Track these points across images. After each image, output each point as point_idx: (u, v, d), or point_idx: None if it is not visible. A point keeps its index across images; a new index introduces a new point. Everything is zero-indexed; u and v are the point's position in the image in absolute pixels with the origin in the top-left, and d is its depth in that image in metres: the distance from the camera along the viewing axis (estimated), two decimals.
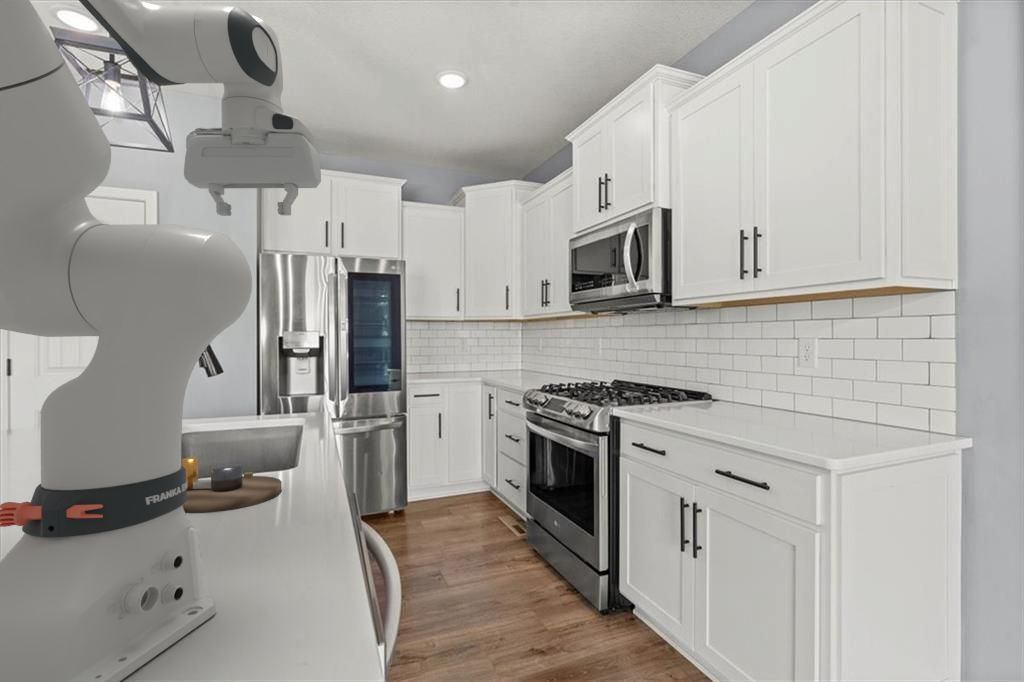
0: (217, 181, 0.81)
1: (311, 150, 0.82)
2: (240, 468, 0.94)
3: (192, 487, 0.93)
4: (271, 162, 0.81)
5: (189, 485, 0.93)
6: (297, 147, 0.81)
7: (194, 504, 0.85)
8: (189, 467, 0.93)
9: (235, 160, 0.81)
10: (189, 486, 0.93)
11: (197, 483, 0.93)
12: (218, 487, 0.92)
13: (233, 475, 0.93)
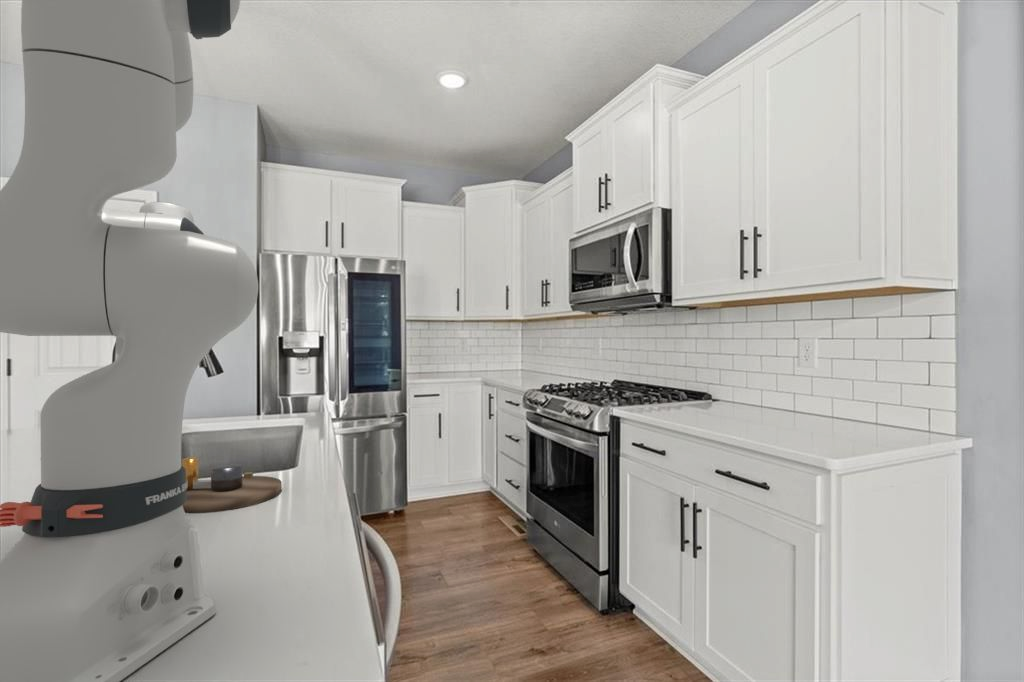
0: None
1: None
2: (240, 468, 0.94)
3: (192, 487, 0.93)
4: None
5: (189, 485, 0.93)
6: None
7: (194, 504, 0.85)
8: (189, 467, 0.93)
9: None
10: (189, 486, 0.93)
11: (197, 483, 0.93)
12: (218, 487, 0.92)
13: (233, 475, 0.93)
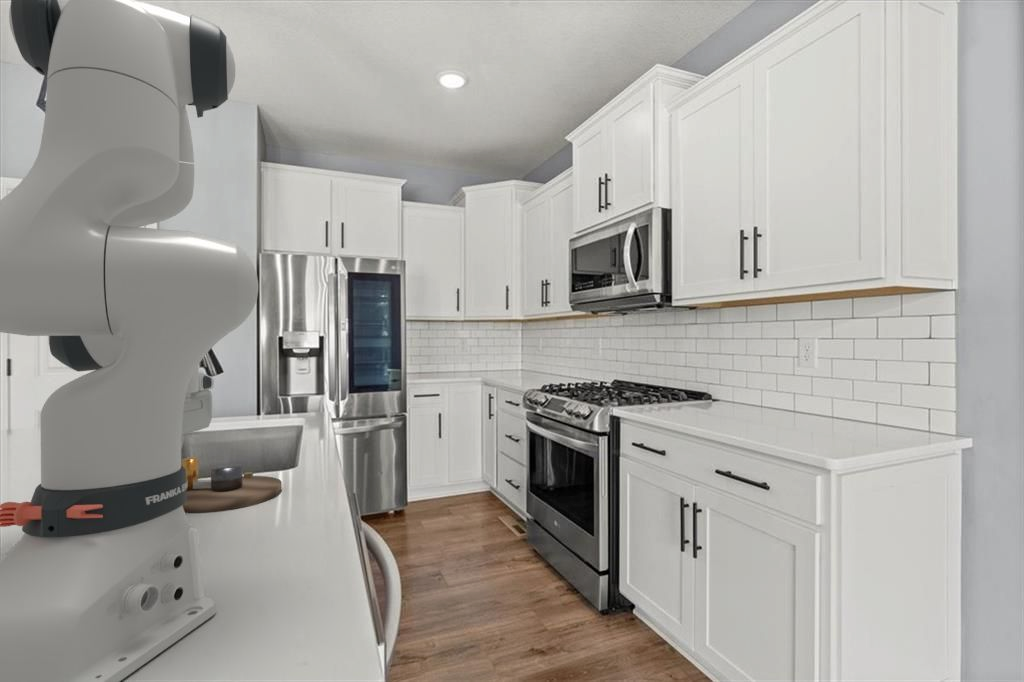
0: None
1: None
2: (240, 468, 0.94)
3: (192, 487, 0.93)
4: (191, 415, 0.92)
5: (189, 485, 0.93)
6: (205, 400, 0.96)
7: (194, 504, 0.85)
8: (189, 467, 0.93)
9: None
10: (189, 486, 0.93)
11: (197, 483, 0.93)
12: (218, 487, 0.92)
13: (233, 475, 0.93)
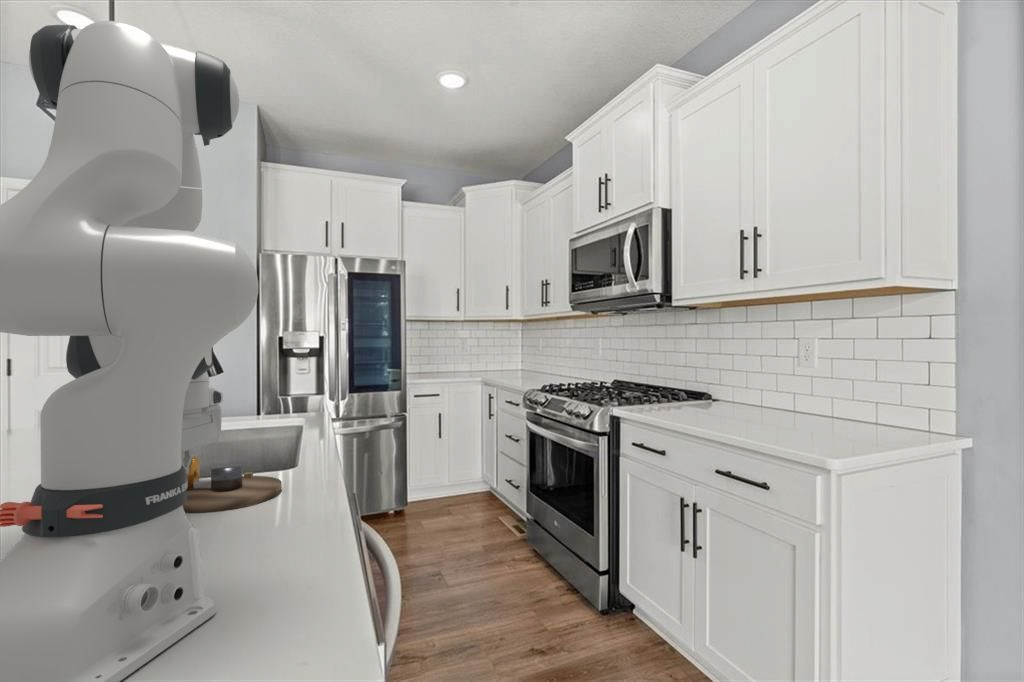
0: None
1: None
2: (240, 468, 0.94)
3: (193, 487, 0.93)
4: (202, 429, 0.95)
5: (190, 485, 0.93)
6: (215, 414, 0.99)
7: (194, 504, 0.85)
8: (189, 467, 0.93)
9: (184, 432, 0.90)
10: (190, 486, 0.93)
11: (198, 483, 0.93)
12: (217, 487, 0.92)
13: (232, 476, 0.93)
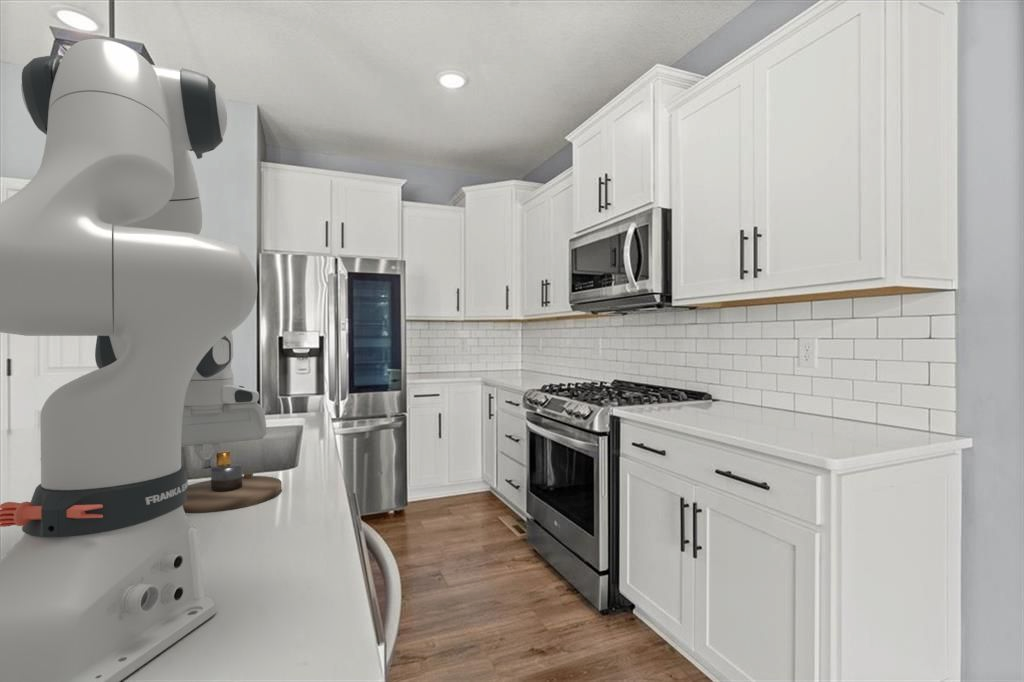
0: None
1: None
2: (227, 471, 0.92)
3: None
4: (229, 426, 0.99)
5: None
6: (252, 412, 1.01)
7: (194, 504, 0.85)
8: (217, 460, 0.99)
9: (195, 427, 0.96)
10: None
11: None
12: (211, 485, 0.93)
13: (217, 477, 0.92)
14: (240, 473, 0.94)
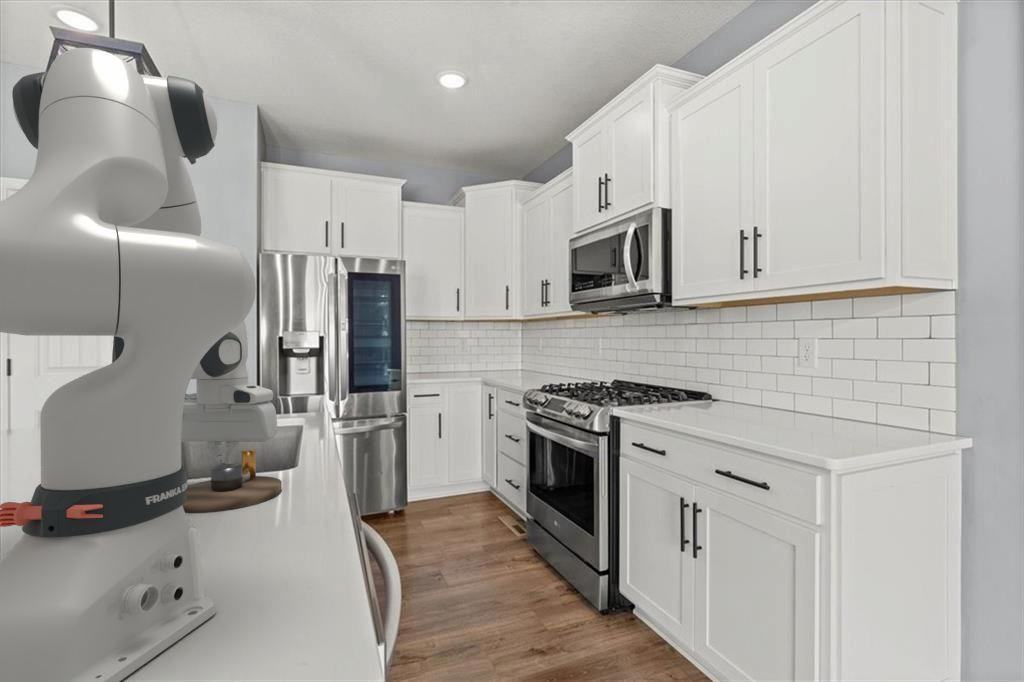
0: (194, 441, 1.00)
1: (266, 415, 0.99)
2: (217, 471, 0.92)
3: None
4: (234, 426, 0.99)
5: None
6: (254, 414, 0.99)
7: (194, 504, 0.85)
8: None
9: (207, 424, 1.00)
10: None
11: None
12: None
13: (211, 476, 0.92)
14: (232, 475, 0.93)
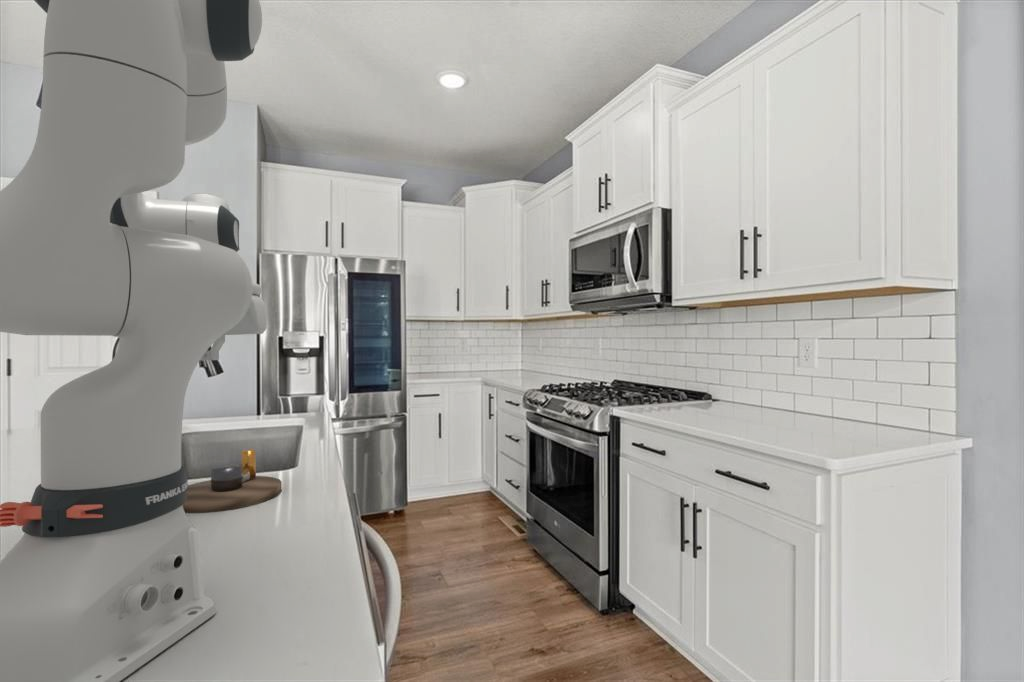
0: None
1: (256, 305, 0.95)
2: (217, 471, 0.92)
3: None
4: None
5: None
6: None
7: (194, 504, 0.85)
8: None
9: None
10: None
11: None
12: None
13: (211, 476, 0.92)
14: (232, 475, 0.93)
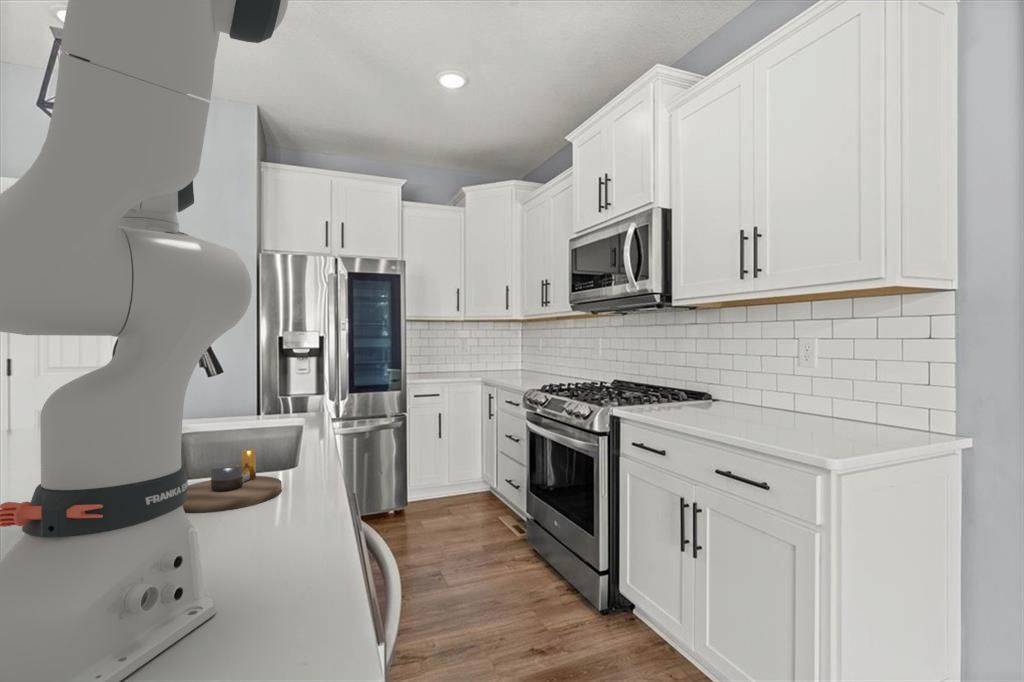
0: None
1: None
2: (217, 471, 0.92)
3: None
4: None
5: None
6: None
7: (194, 504, 0.85)
8: None
9: None
10: None
11: None
12: None
13: (211, 476, 0.92)
14: (232, 475, 0.93)
